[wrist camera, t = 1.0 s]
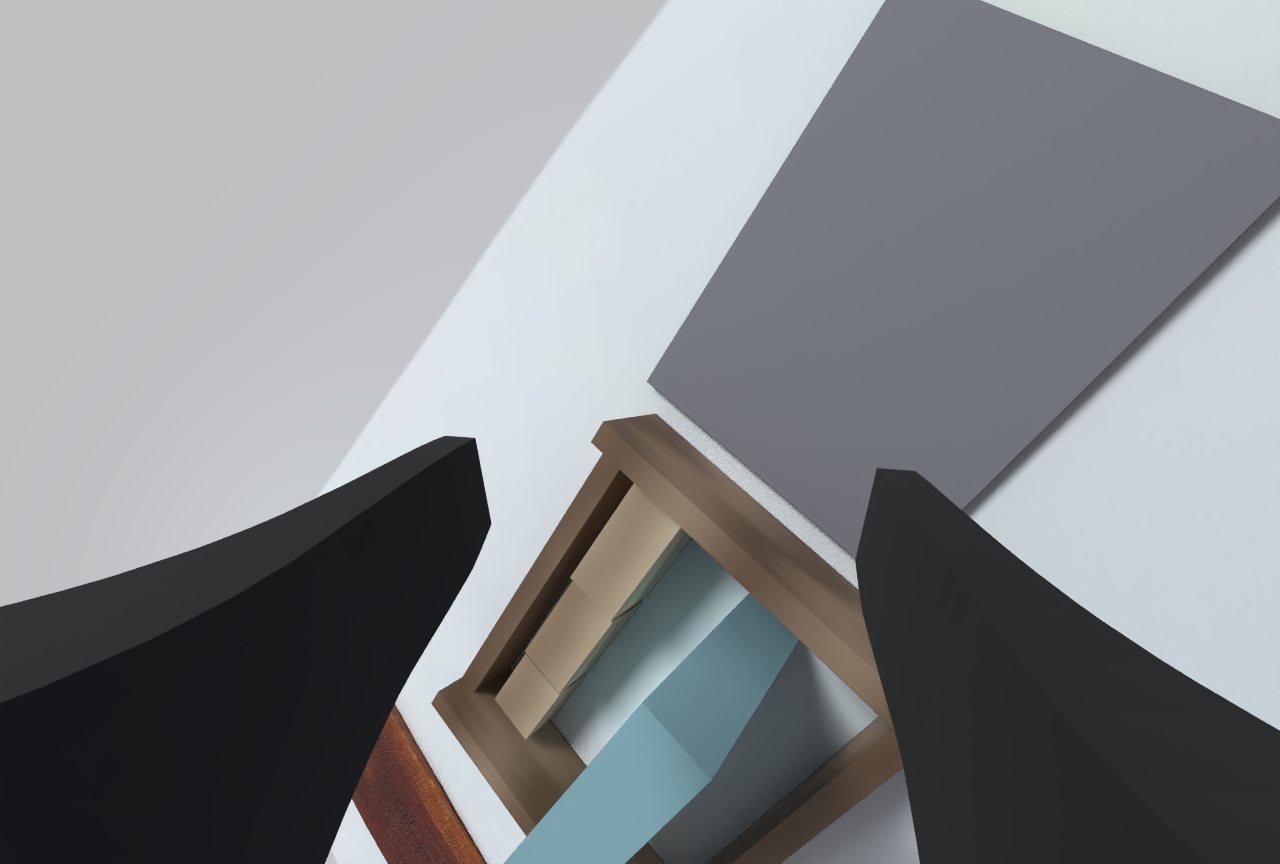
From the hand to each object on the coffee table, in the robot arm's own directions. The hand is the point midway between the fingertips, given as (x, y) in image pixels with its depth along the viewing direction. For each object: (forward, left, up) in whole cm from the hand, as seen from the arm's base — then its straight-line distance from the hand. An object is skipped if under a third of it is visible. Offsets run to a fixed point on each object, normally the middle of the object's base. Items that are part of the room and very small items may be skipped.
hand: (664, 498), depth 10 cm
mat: (+1, -5, -12) cm, 13 cm away
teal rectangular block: (-3, +13, -12) cm, 18 cm away
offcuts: (+3, +13, -12) cm, 18 cm away
